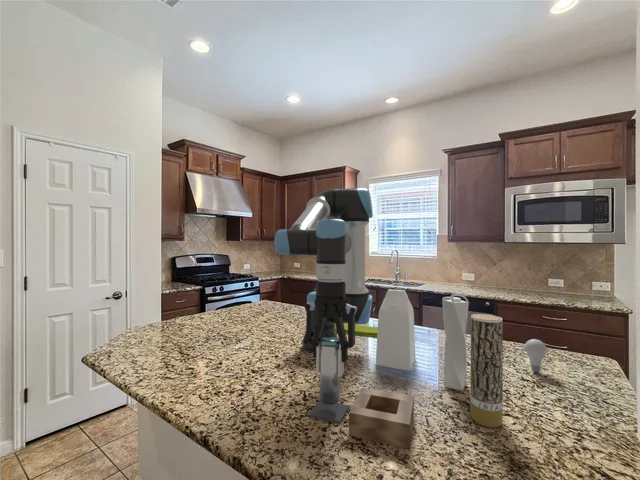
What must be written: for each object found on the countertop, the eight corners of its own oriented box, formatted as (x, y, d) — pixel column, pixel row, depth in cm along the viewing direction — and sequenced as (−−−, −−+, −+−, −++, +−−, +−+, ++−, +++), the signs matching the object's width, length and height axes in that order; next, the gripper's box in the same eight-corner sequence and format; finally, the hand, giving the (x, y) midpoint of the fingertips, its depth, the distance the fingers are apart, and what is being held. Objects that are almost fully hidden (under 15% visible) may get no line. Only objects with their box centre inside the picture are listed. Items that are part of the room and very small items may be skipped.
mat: (308, 417, 76) (308, 414, 76) (320, 401, 84) (320, 399, 84) (340, 423, 74) (340, 421, 74) (349, 407, 81) (349, 405, 81)
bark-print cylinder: (465, 413, 79) (465, 314, 79) (490, 413, 79) (490, 313, 79) (481, 429, 72) (481, 320, 72) (509, 428, 72) (509, 320, 73)
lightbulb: (543, 370, 107) (543, 337, 107) (549, 377, 101) (549, 343, 101) (522, 367, 109) (522, 336, 109) (527, 374, 103) (527, 341, 103)
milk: (415, 359, 116) (415, 289, 116) (410, 370, 105) (410, 293, 106) (383, 354, 121) (383, 287, 121) (375, 364, 111) (376, 291, 111)
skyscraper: (466, 394, 89) (467, 295, 90) (439, 387, 93) (439, 293, 93) (470, 383, 96) (470, 292, 96) (444, 378, 100) (444, 290, 100)
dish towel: (326, 324, 169) (326, 318, 169) (393, 331, 155) (393, 325, 155) (315, 331, 155) (315, 324, 155) (387, 340, 141) (387, 333, 141)
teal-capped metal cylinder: (316, 402, 77) (317, 341, 78) (323, 393, 82) (324, 336, 82) (336, 406, 76) (336, 343, 76) (342, 397, 80) (342, 338, 81)
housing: (348, 435, 69) (348, 412, 69) (361, 406, 82) (361, 387, 82) (409, 448, 65) (409, 424, 65) (413, 416, 77) (413, 396, 77)
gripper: (292, 280, 79) (291, 372, 79) (362, 283, 73) (361, 384, 72) (304, 277, 86) (303, 362, 86) (369, 280, 80) (368, 372, 79)
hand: (329, 372), depth 79 cm, fingers closed on teal-capped metal cylinder, 5 cm apart
